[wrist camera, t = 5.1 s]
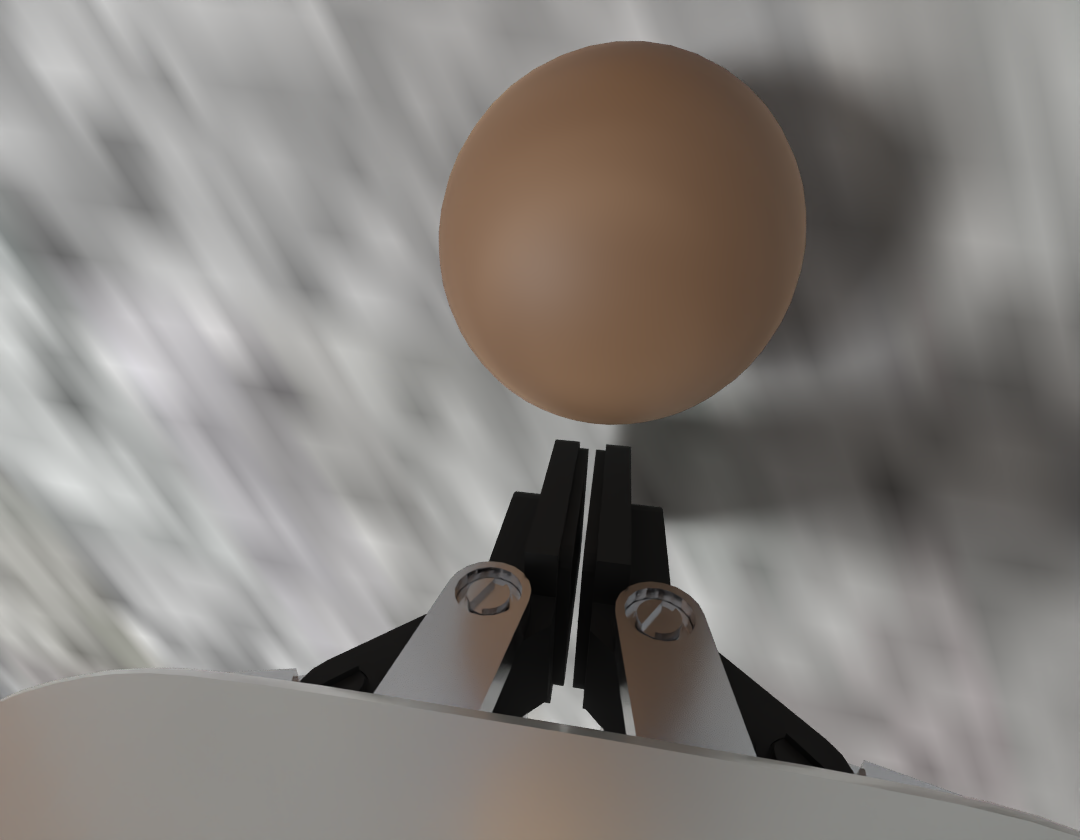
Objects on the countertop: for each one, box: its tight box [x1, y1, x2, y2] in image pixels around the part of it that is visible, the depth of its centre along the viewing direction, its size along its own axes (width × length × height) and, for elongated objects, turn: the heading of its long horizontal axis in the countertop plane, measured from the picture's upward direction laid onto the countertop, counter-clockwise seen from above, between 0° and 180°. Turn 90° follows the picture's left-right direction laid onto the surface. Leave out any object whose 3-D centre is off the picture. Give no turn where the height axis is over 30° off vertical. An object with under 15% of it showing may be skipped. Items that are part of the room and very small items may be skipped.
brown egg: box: [439, 41, 806, 425], centre depth 8 cm, size 6×6×6 cm
